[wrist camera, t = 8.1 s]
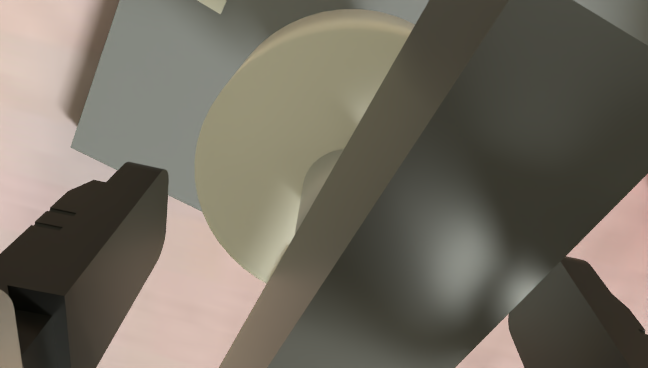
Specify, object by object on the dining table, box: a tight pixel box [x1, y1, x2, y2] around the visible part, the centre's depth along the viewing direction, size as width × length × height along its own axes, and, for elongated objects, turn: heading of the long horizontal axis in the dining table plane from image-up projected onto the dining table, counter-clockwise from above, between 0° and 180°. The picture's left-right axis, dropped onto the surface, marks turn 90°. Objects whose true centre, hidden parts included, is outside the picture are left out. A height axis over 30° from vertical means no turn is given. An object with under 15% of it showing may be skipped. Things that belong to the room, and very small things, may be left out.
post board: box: [71, 0, 648, 211], centre depth 18 cm, size 20×20×8 cm
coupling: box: [194, 0, 648, 368], centre depth 10 cm, size 11×8×8 cm
